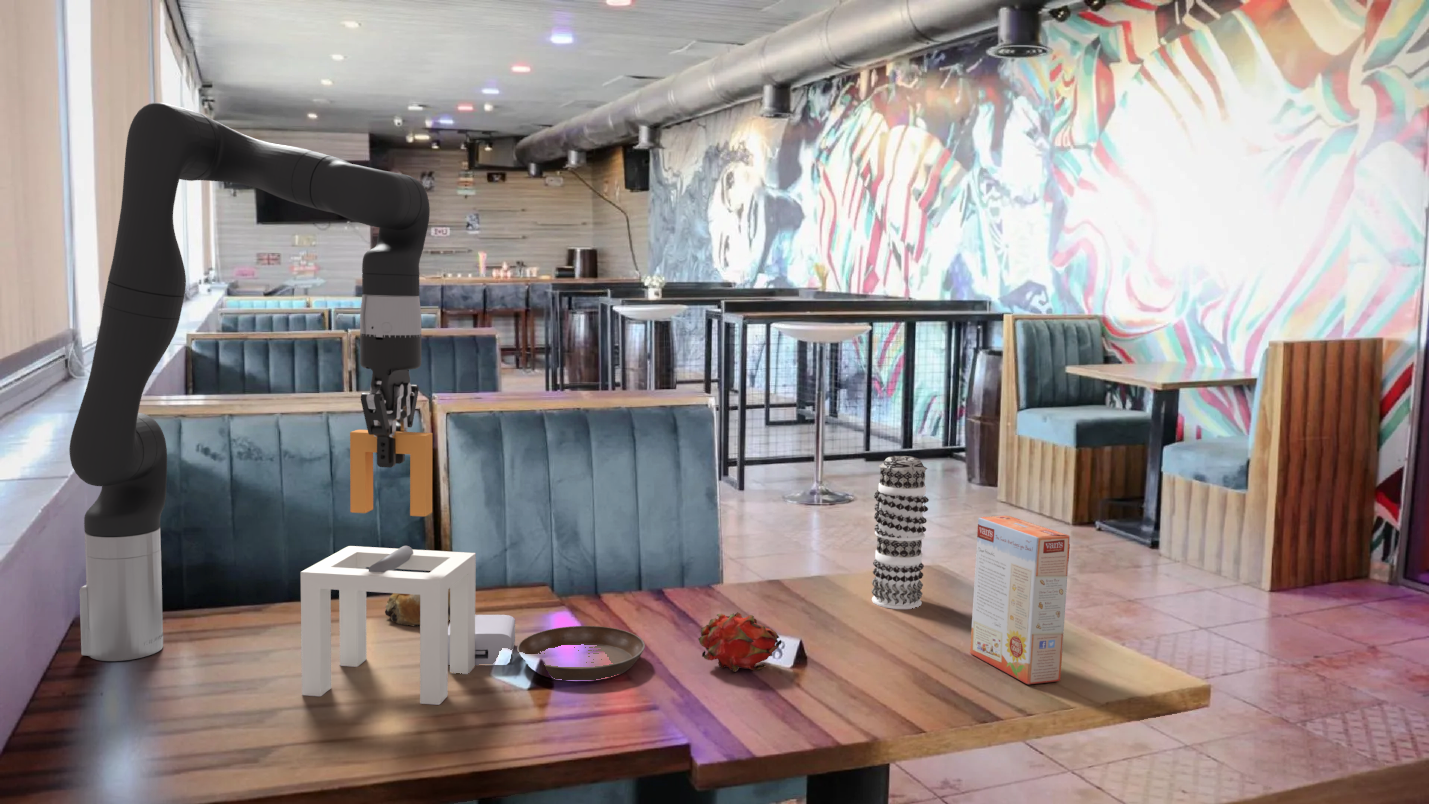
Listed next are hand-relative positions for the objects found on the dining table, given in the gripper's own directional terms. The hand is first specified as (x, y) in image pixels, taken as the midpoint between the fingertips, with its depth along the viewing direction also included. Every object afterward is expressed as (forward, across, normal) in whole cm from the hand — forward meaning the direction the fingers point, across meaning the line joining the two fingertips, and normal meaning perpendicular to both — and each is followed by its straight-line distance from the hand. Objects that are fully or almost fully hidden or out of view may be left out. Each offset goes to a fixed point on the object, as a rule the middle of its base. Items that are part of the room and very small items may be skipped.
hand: (390, 464), depth 144 cm
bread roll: (+29, -27, -6) cm, 40 cm away
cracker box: (+29, -21, +84) cm, 91 cm away
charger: (+29, -15, +8) cm, 34 cm away
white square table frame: (+29, 0, 0) cm, 29 cm away
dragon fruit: (+29, -14, +45) cm, 56 cm away
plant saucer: (+29, -11, +23) cm, 39 cm away
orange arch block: (+6, 0, 0) cm, 6 cm away
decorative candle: (+29, -51, +69) cm, 91 cm away
